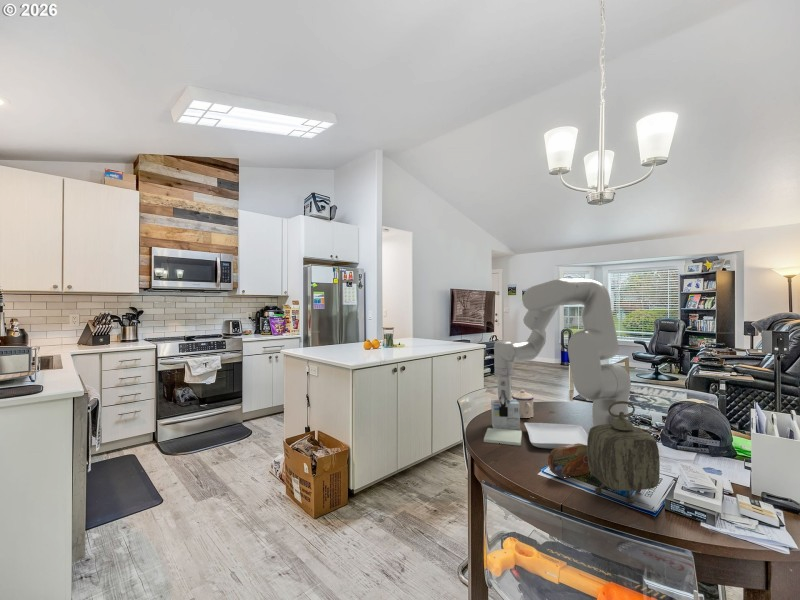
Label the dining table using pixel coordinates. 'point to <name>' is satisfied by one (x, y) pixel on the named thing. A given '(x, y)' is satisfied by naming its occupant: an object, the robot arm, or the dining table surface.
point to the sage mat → (503, 436)
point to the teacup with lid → (524, 403)
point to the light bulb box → (506, 422)
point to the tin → (569, 460)
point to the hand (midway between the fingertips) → (504, 412)
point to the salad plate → (555, 435)
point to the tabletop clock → (623, 455)
